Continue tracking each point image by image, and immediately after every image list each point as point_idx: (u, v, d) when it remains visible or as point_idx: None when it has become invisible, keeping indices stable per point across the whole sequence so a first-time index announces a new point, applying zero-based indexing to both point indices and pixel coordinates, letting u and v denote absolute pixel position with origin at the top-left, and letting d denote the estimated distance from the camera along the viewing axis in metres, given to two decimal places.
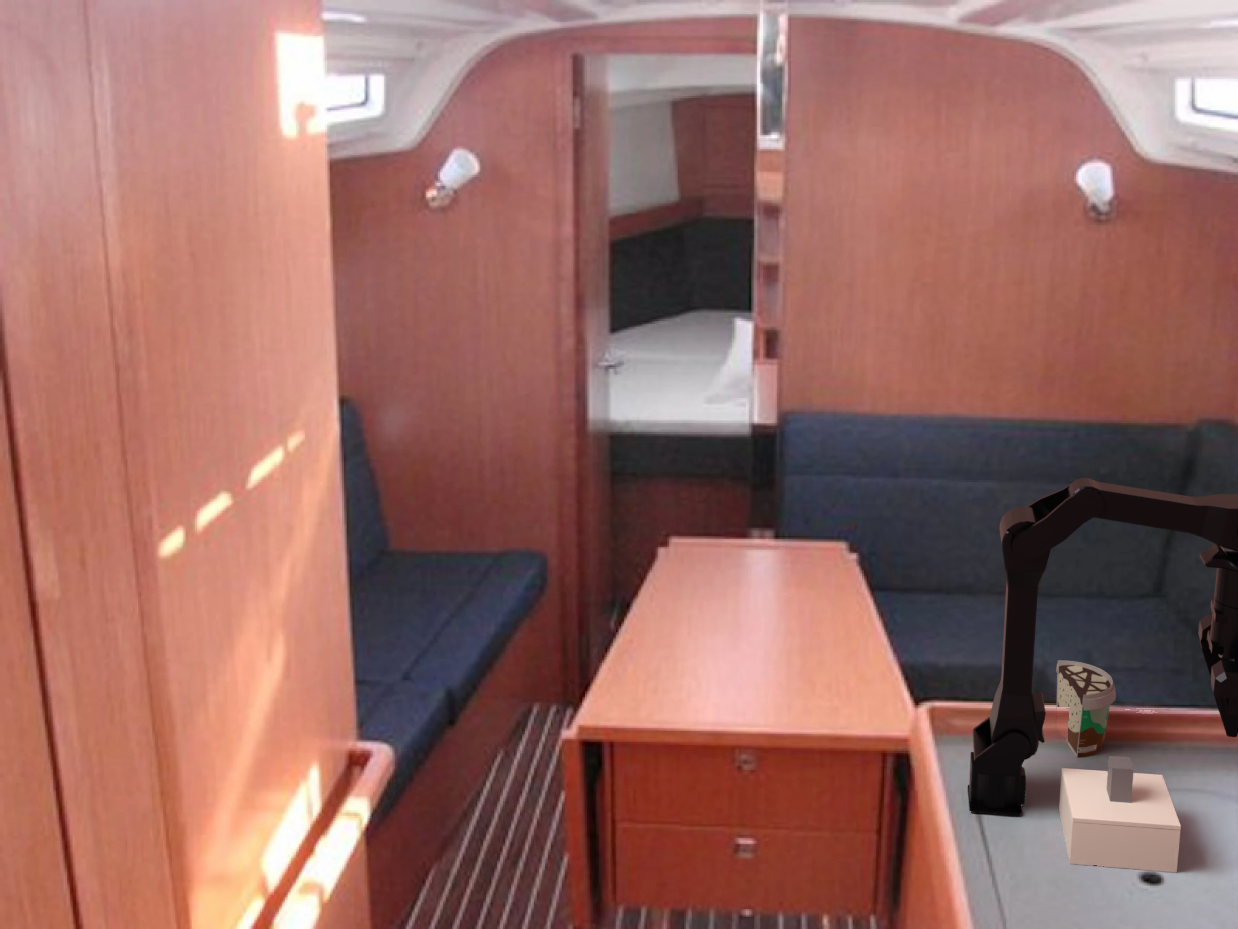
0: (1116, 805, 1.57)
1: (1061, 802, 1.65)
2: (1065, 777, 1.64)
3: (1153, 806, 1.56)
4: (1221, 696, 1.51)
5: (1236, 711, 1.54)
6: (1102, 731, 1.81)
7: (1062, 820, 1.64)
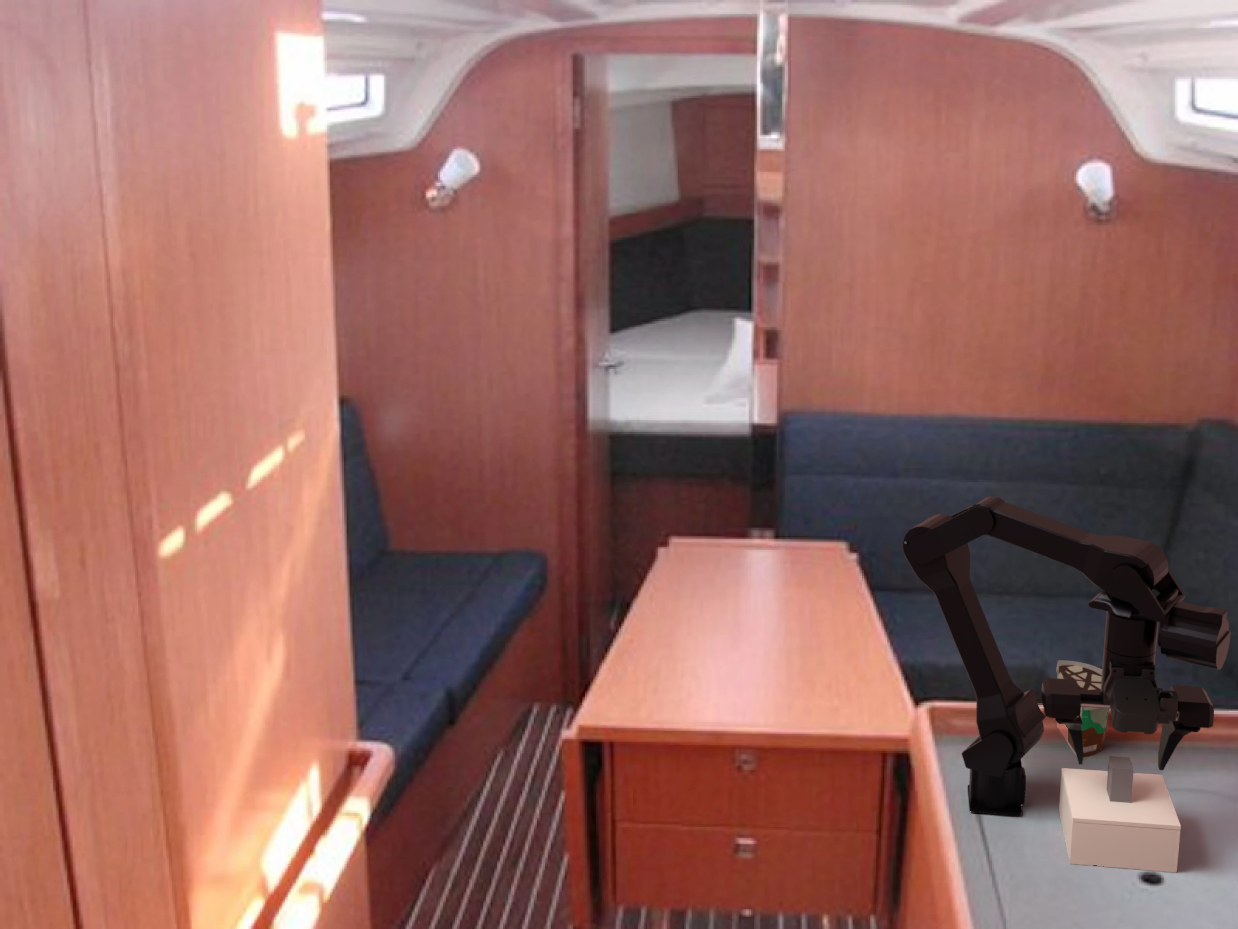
0: (1116, 805, 1.57)
1: (1061, 802, 1.65)
2: (1065, 777, 1.64)
3: (1153, 806, 1.56)
4: None
5: None
6: (1102, 731, 1.81)
7: (1062, 820, 1.64)
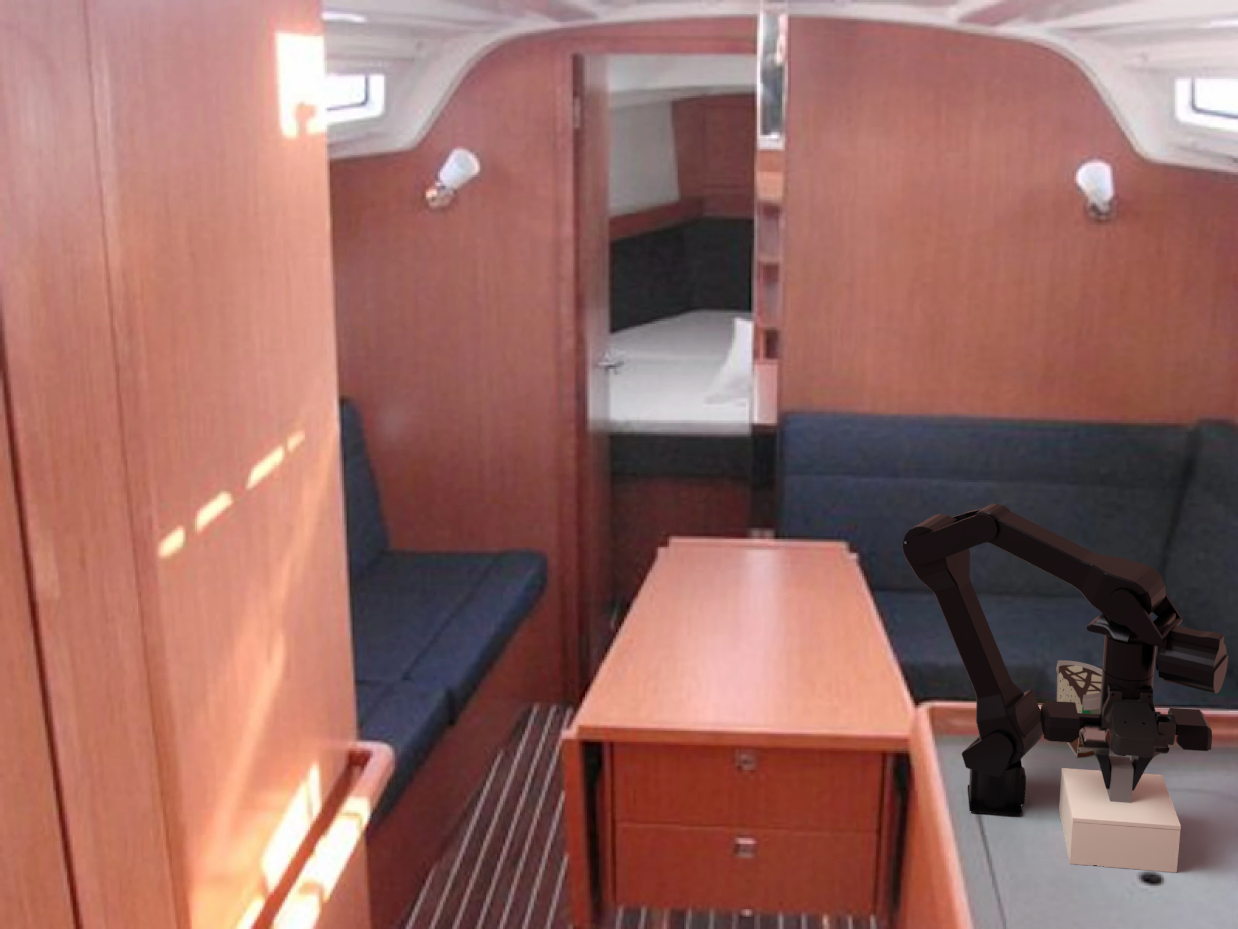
0: (1116, 805, 1.57)
1: (1061, 802, 1.65)
2: (1065, 777, 1.64)
3: (1153, 806, 1.56)
4: None
5: None
6: None
7: (1062, 820, 1.64)
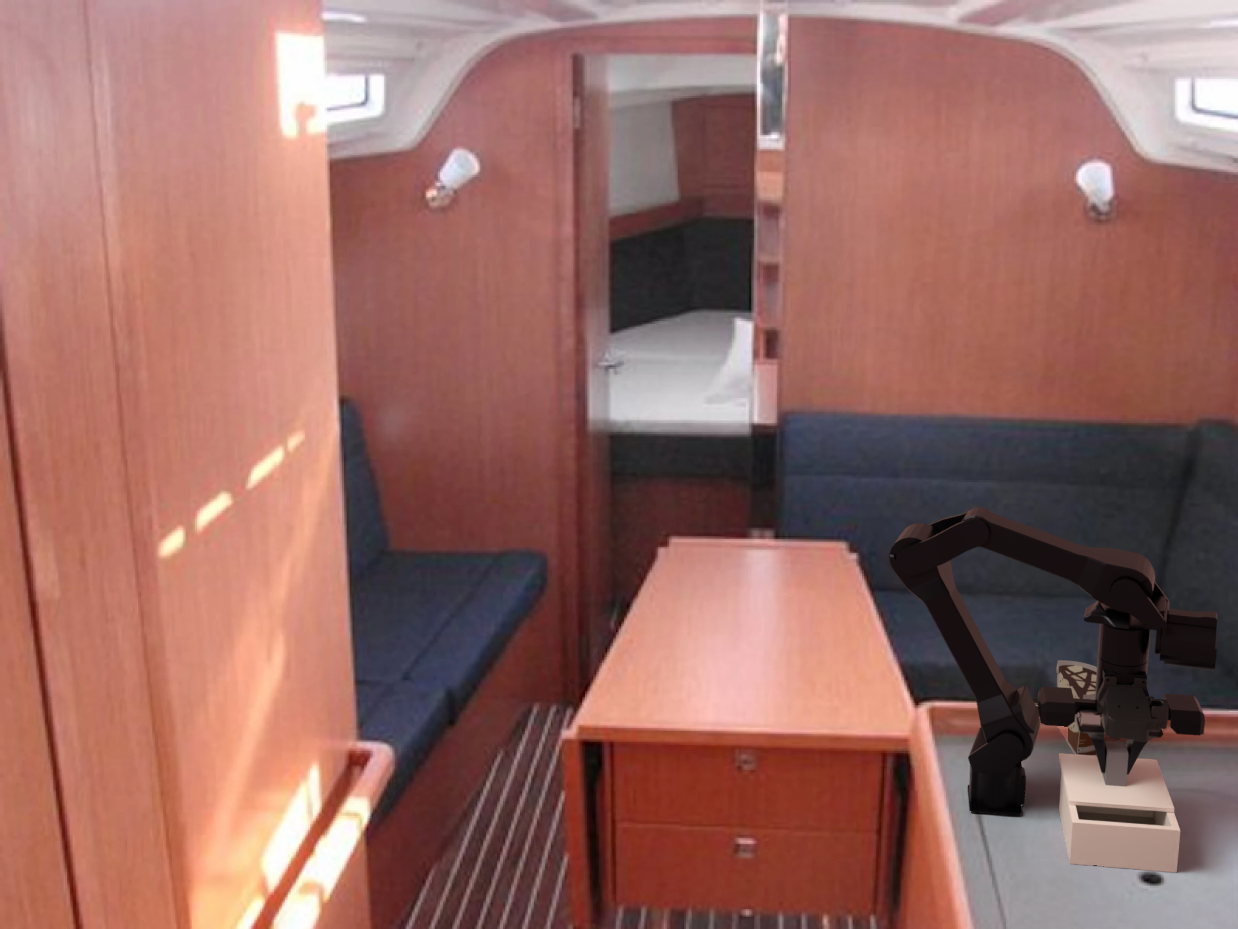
0: (1112, 789, 1.60)
1: (1061, 802, 1.65)
2: (1061, 761, 1.67)
3: (1147, 789, 1.60)
4: None
5: None
6: None
7: (1062, 820, 1.64)
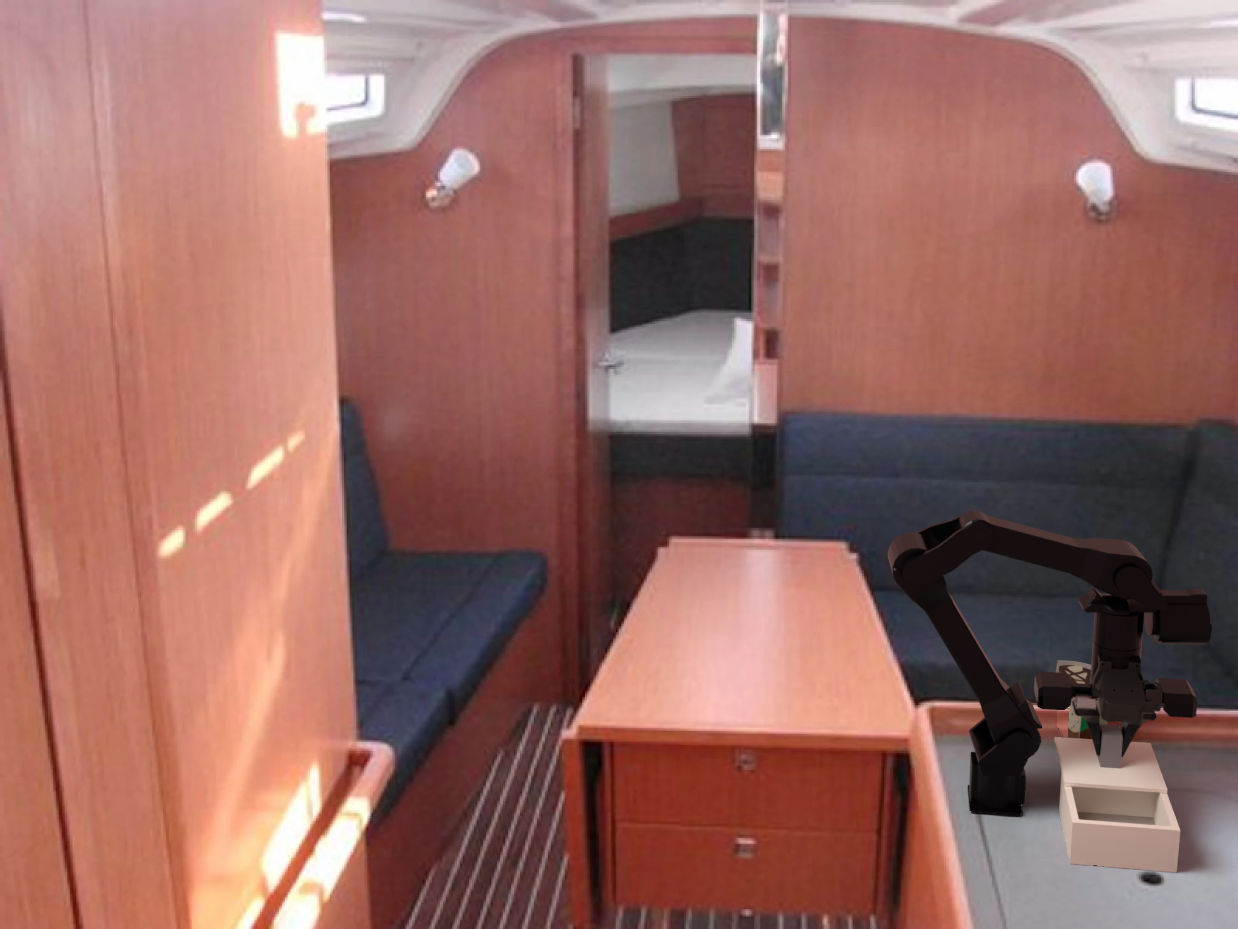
0: (1106, 771, 1.65)
1: (1061, 802, 1.65)
2: (1057, 745, 1.71)
3: (1141, 771, 1.64)
4: None
5: None
6: None
7: (1062, 820, 1.64)
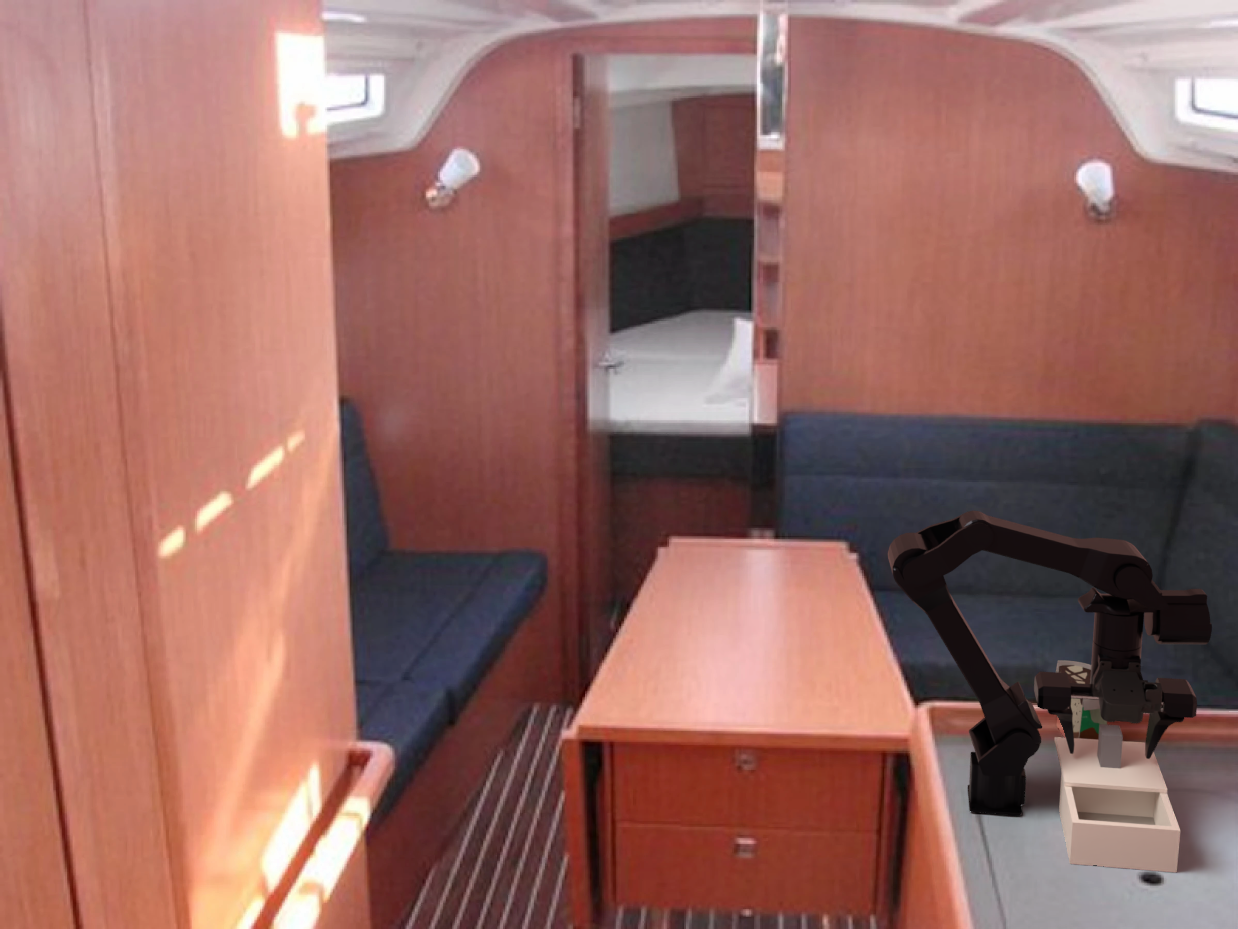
0: (1106, 771, 1.65)
1: (1061, 802, 1.65)
2: (1057, 745, 1.71)
3: (1141, 771, 1.64)
4: None
5: None
6: None
7: (1062, 820, 1.64)
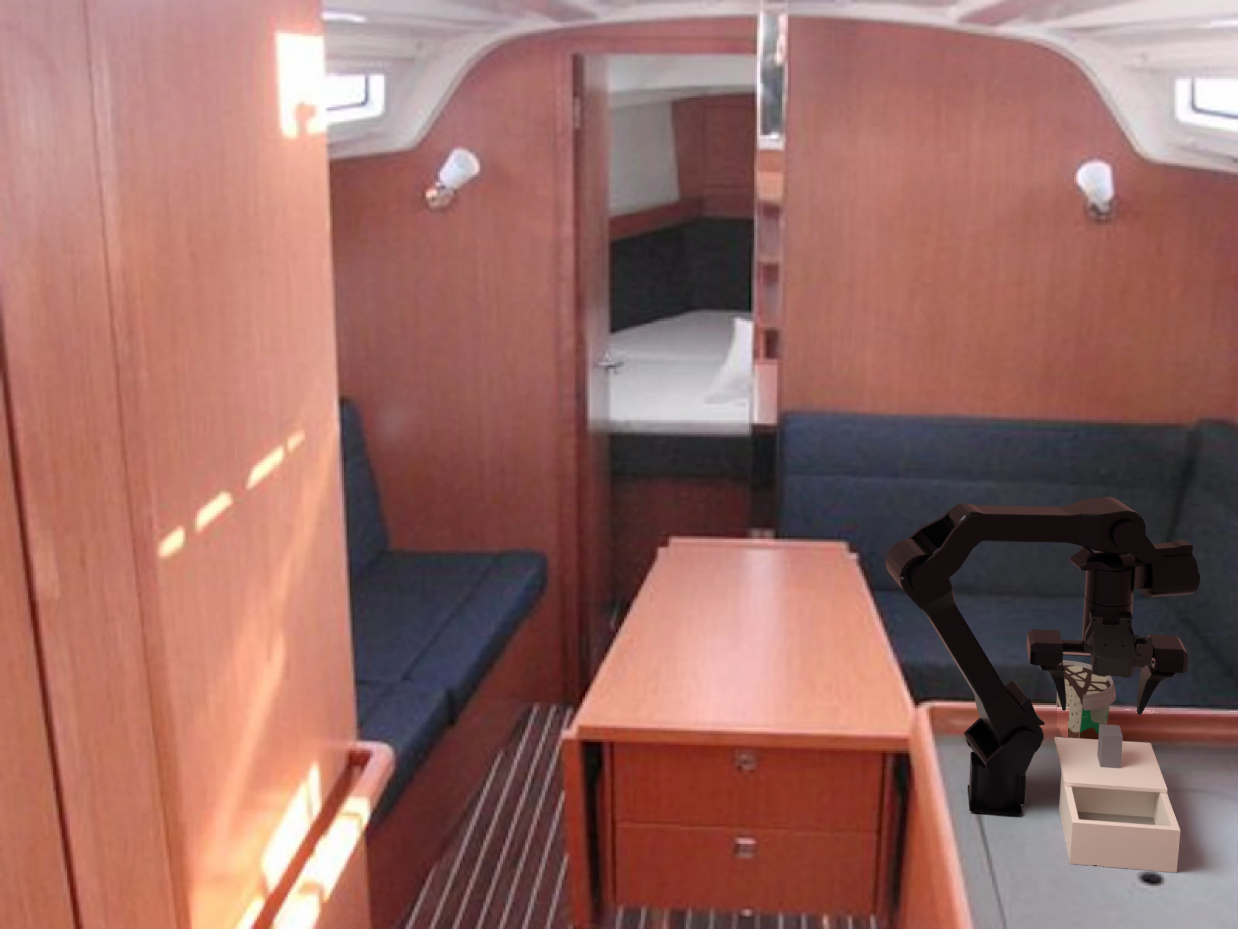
0: (1106, 771, 1.65)
1: (1061, 802, 1.65)
2: (1057, 745, 1.71)
3: (1141, 771, 1.64)
4: None
5: None
6: None
7: (1062, 820, 1.64)
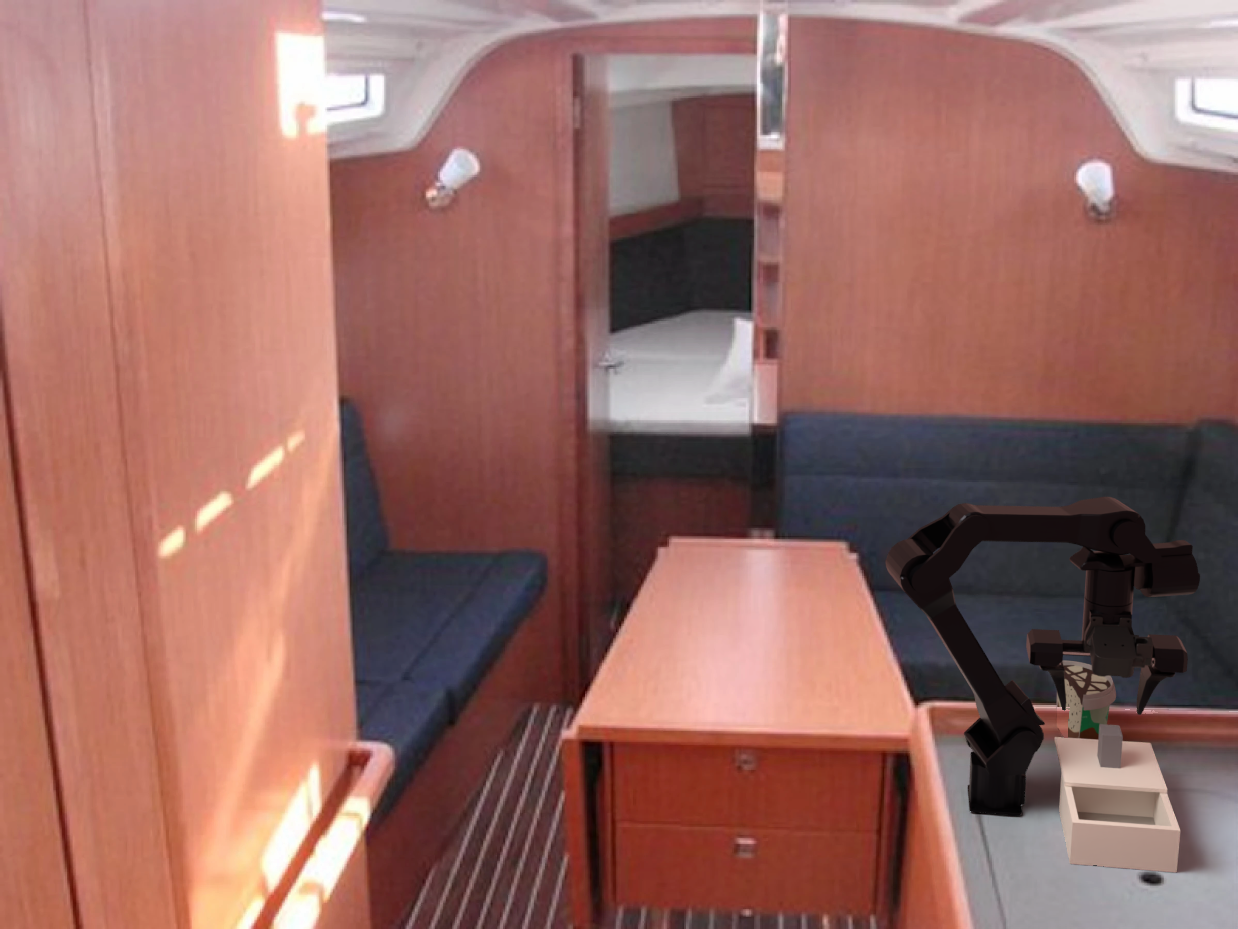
0: (1106, 771, 1.65)
1: (1061, 802, 1.65)
2: (1057, 745, 1.71)
3: (1141, 771, 1.64)
4: None
5: None
6: None
7: (1062, 820, 1.64)
